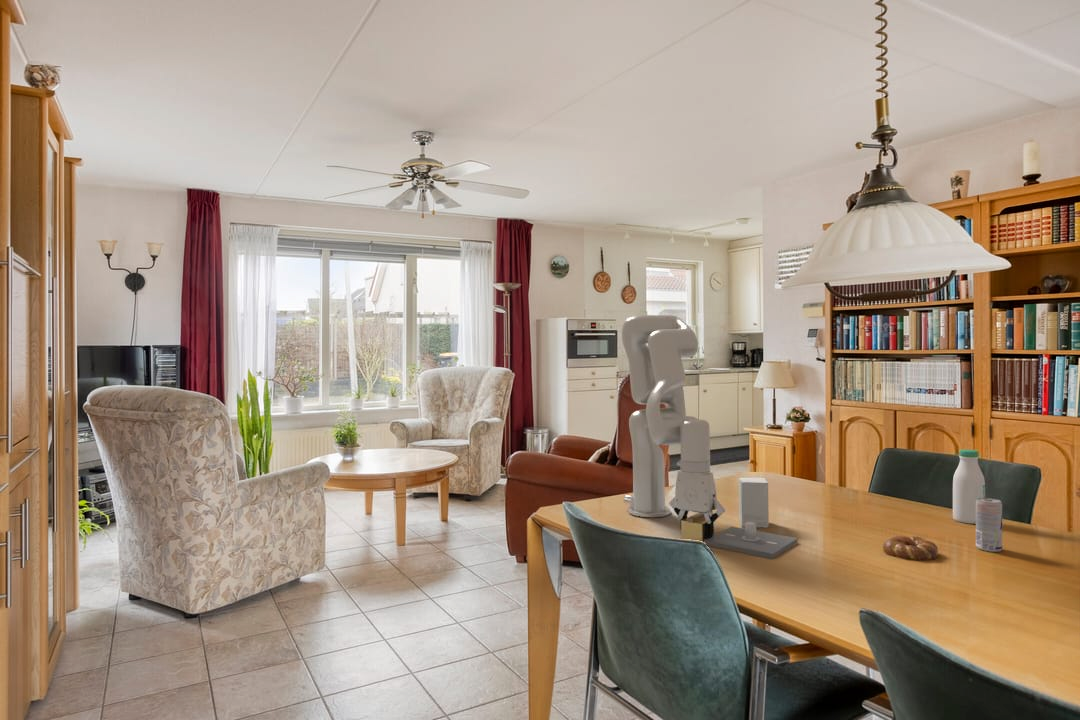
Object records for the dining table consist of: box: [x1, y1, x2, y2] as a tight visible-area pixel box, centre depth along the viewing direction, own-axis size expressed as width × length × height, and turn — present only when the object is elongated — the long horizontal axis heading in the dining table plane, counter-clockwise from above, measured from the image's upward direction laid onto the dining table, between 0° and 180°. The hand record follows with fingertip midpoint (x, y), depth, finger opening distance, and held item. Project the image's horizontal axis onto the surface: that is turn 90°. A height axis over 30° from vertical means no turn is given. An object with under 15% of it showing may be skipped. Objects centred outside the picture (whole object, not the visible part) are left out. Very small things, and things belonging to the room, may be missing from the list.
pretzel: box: [882, 535, 939, 561], centre depth 160 cm, size 12×11×4 cm
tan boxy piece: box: [680, 512, 706, 542], centre depth 175 cm, size 7×6×6 cm
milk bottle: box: [952, 448, 986, 525], centre depth 187 cm, size 8×8×20 cm
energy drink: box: [975, 497, 1003, 553], centre depth 163 cm, size 5×5×12 cm
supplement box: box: [738, 477, 770, 529], centre depth 188 cm, size 7×7×13 cm
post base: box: [704, 522, 799, 560], centre depth 170 cm, size 18×16×5 cm
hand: (697, 534), depth 174 cm, fingers closed on tan boxy piece, 6 cm apart
